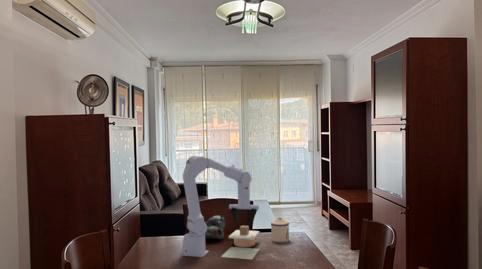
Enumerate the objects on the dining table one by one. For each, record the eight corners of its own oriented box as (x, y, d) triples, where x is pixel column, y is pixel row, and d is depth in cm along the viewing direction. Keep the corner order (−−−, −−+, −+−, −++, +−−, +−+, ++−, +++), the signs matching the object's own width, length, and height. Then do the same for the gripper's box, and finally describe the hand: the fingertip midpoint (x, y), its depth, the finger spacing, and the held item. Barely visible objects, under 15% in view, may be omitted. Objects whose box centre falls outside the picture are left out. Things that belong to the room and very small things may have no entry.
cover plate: (228, 238, 171) (228, 229, 171) (236, 231, 182) (236, 222, 182) (253, 239, 167) (252, 230, 167) (259, 232, 179) (259, 224, 179)
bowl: (231, 247, 172) (231, 237, 172) (238, 240, 181) (237, 231, 181) (252, 248, 169) (251, 238, 169) (257, 242, 178) (257, 233, 178)
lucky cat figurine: (194, 238, 188) (200, 212, 194) (214, 244, 192) (220, 218, 198) (205, 236, 175) (212, 208, 181) (227, 242, 180) (233, 215, 186)
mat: (221, 257, 157) (220, 256, 157) (231, 247, 171) (231, 246, 171) (251, 260, 153) (251, 259, 153) (259, 249, 167) (259, 248, 167)
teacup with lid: (290, 242, 176) (290, 219, 176) (271, 243, 176) (271, 219, 176) (287, 235, 188) (287, 213, 188) (270, 236, 188) (269, 213, 188)
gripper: (260, 195, 177) (260, 222, 177) (232, 194, 181) (232, 221, 181) (256, 197, 170) (257, 226, 170) (227, 196, 174) (228, 224, 174)
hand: (244, 224), depth 175 cm, fingers open, 7 cm apart
